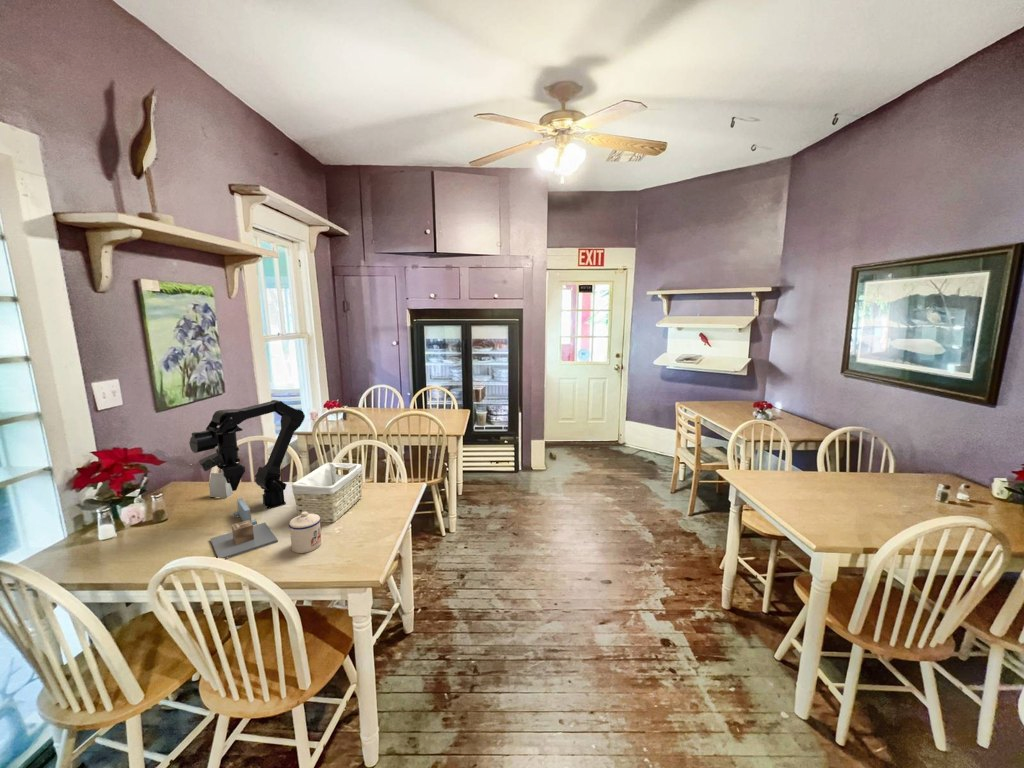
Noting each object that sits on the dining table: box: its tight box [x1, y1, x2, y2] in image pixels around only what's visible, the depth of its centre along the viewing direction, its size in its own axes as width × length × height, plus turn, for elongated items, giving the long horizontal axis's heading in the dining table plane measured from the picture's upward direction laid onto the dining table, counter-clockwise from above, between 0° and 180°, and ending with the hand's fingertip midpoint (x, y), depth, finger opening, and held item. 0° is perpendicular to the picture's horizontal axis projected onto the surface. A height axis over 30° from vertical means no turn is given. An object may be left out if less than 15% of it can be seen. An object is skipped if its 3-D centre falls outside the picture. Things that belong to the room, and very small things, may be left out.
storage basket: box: [291, 462, 363, 523], centre depth 158 cm, size 24×16×15 cm
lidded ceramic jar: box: [288, 511, 322, 554], centre depth 134 cm, size 12×9×12 cm
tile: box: [210, 522, 279, 560], centre depth 136 cm, size 16×16×1 cm
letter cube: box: [231, 520, 254, 545], centre depth 135 cm, size 5×5×5 cm
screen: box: [232, 497, 258, 526], centre depth 150 cm, size 5×13×6 cm, turn 44°
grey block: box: [208, 472, 234, 499], centre depth 169 cm, size 4×7×10 cm, turn 90°
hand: (231, 486), depth 149 cm, fingers open, 9 cm apart
